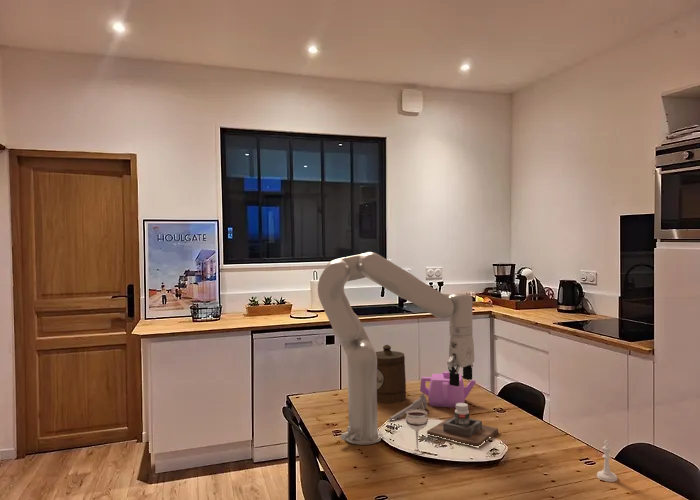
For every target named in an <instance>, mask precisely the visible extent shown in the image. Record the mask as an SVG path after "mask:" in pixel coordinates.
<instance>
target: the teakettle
mask: <svg viewBox="0 0 700 500" xmlns="http://www.w3.org/2000/svg"><path fill="white" fill-rule="evenodd" d="M426 382H429V388H428V387H426V384H427V383H426ZM476 383H477V380H474V379H472V380H470V381H469V382H468V383H467V385H466V386H465V384H464V379H463V374H459V386H453V385H450V373H449V370H448V371H447V370H446V371H442V372H441V373H432V374H431V376H421V380H420V388H419V389H420V393H421V394H424V395H425V396H426V397H428V403H429V405H430V406H431V407H438V408H439V407H441V408H456V404H457V403H465V401H466V399H467V398H468V395H469V394H470V393H471V391H472V389H473V388H474V386H475V385H476Z"/></svg>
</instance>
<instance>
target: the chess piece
mask: <svg viewBox="0 0 700 500" xmlns="http://www.w3.org/2000/svg"><path fill="white" fill-rule="evenodd" d="M603 444H605V445H604V446H602V447H601V448H602V451H603V455H602V458H603V459H604V461H603V463H604V464H603V469H601V470H599V471H597V473H596V477H597V478H598V479H600V480H601V481H604V482H611V483H613V482H617V481H618V476H617V474H615V473H614V472H613V471H611V467H610V466H611V465H610V459H612V456H611V455H610V453H611V450H612V449H611V447H610V444H609V440H608V439H605V440H604V441H603Z"/></svg>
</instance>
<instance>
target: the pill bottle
mask: <svg viewBox="0 0 700 500" xmlns="http://www.w3.org/2000/svg"><path fill="white" fill-rule="evenodd" d="M454 417H455V425H459V426H463V427H469V418H470V411H469V404H468V403H465V402H464V403H457V404H456V407H455V410H454Z"/></svg>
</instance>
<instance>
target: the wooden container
mask: <svg viewBox="0 0 700 500" xmlns="http://www.w3.org/2000/svg"><path fill="white" fill-rule="evenodd" d="M382 349H383V350H382V351H379V350H378V351H375V352H376V355H377V403H381V404H382V403H383V404H392V403H393V404H394V403H395V404H396V403H399V402H402V401H405V400H406V398H407V390H406V389H407V382H406V364H405V362H406V359H405V357H406V356H405V353H404V352H400V351H396V350H395V351H394V350H391V349H392V347H391V345H389V344H384V346H382Z"/></svg>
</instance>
